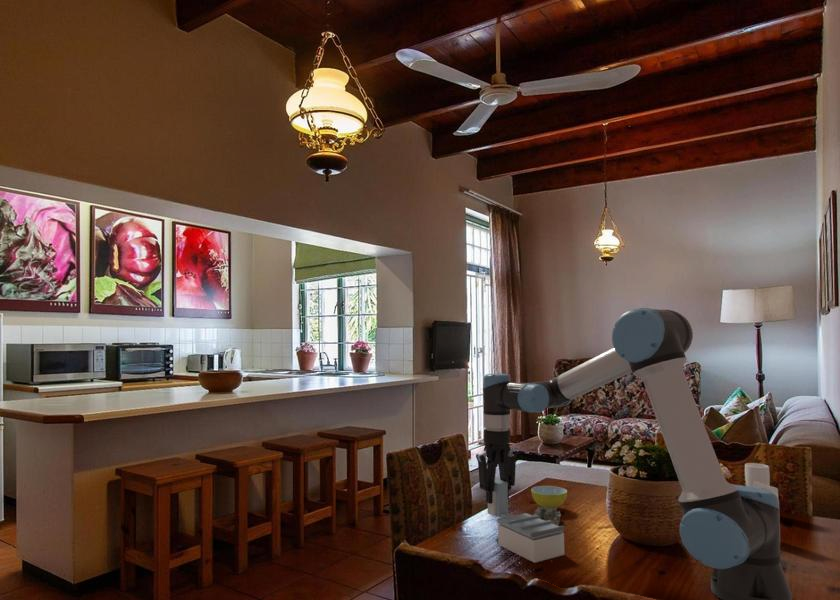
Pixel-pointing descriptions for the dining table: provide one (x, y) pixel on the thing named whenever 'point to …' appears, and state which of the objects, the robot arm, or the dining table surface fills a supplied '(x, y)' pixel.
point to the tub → (531, 544)
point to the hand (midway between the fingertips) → (497, 513)
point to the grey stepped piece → (521, 516)
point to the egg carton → (548, 515)
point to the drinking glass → (757, 474)
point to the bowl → (549, 496)
